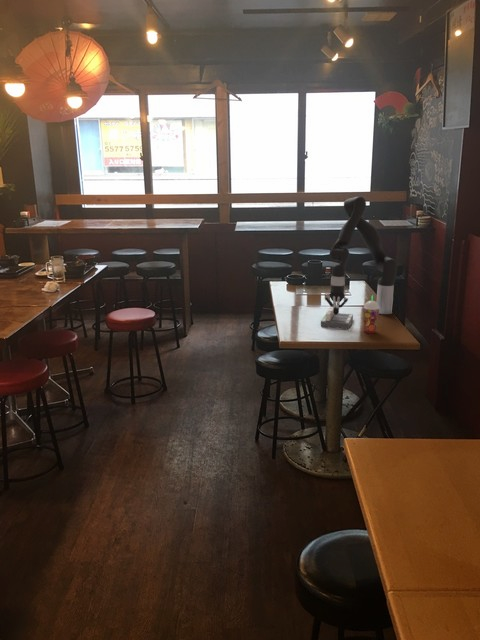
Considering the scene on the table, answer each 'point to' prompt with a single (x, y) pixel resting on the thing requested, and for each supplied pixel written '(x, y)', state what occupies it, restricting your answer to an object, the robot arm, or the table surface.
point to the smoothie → (370, 316)
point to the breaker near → (328, 316)
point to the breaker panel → (338, 321)
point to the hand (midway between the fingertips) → (335, 314)
